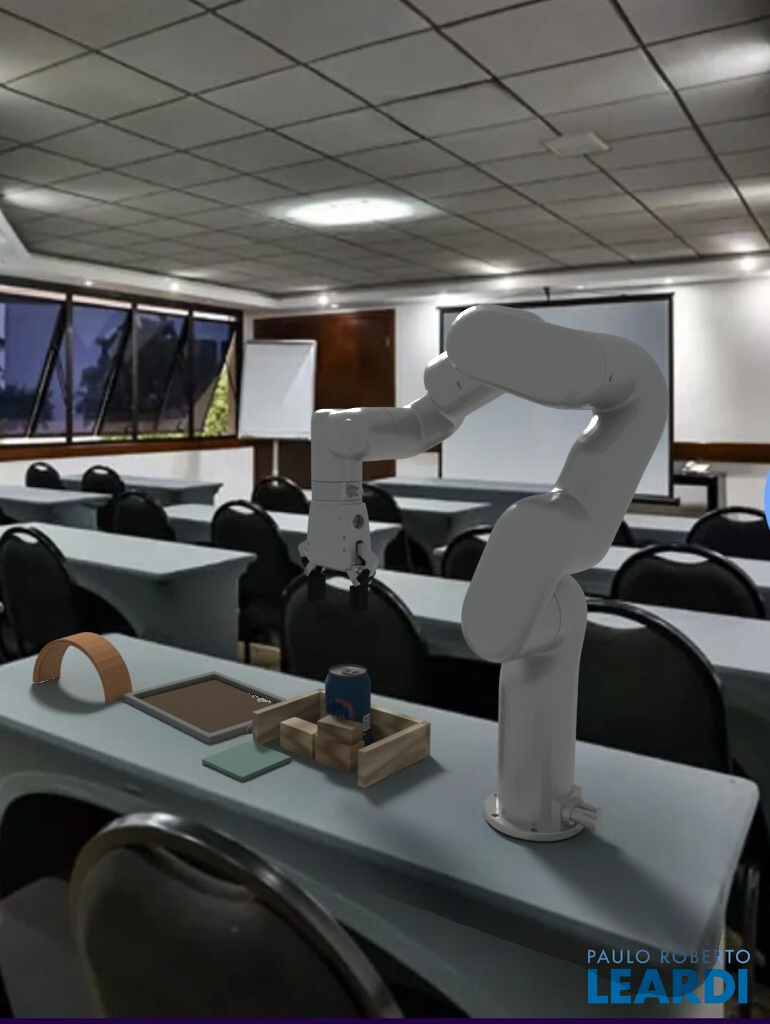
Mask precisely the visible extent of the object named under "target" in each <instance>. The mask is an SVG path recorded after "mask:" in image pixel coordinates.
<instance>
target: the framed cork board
mask: <svg viewBox="0 0 770 1024" xmlns="http://www.w3.org/2000/svg"><path fill="white" fill-rule="evenodd" d="M249 693H250V694H249ZM253 695H254V698H253V697H252V696H253ZM255 695H256V696H258V698H264V699H266V700H268V701H269V700H270V701H271V703H269V702H262V701H261V700H260V701H261V702H258V701H257V699H258V698H257V697H256V696H255ZM286 700H288V699H287V698H284V697H282V696H279V695H276V694H274V693H271V692H269V691H267V690H265V689H262V688H258V687H256V686H254V685H251V684H248V683H247V682H244V681H241V680H238V679H237V678H233V677H231V676H229V675H226V674H223V673H221V672H218V671H216V670H214V671H209V672H206V673H202V674H197V675H193V676H189V677H186V678H182V679H177V680H174V681H173V680H172V681H171V682H166V683H162V684H159V685H155V686H150V687H147V688H142V689H140V690H135V691H132V692H130V693H126V694H123V697H122V701H124V702H125V701H126V702H125V703H127V702H128V703H127V704H129V703H130V705H131V704H132V705H131V706H133V707H135V708H137V709H139V710H141V711H143V712H145V713H147V714H149V715H151V716H152V717H153V716H154V717H155V718H156V719H159V720H161V721H163V722H165V723H167V724H169V725H171V726H173V727H175V728H177V729H179V730H181V731H183V732H185V733H186V734H188V735H190V736H193V737H194V738H196V739H198V740H201V741H202V742H205V743H206V744H209V745H211V744H214V743H218V742H221V741H223V740H226V739H229V738H232V737H236V736H239V735H241V734H248V733H252V734H253V721H252V712H254V711H257V710H260V709H263V708H265V707H268V706H271V705H274V704H277V703H280V702H283V701H286Z"/></svg>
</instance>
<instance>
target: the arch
mask: <svg viewBox="0 0 770 1024" xmlns="http://www.w3.org/2000/svg"><path fill="white" fill-rule="evenodd" d="M70 646H71V647H74V648H75V649H78V650H79V651H80V652H82V654H84V655H85V656H86V657H87V658H88V660H89V661H90V663H92V665H93V667H94V668H95V669H96V672H97V673H98V676H99V679H100V682H101V686H102V689H103V695H104V703H107V702H109V703H111V701H112V702H114V701H116V700H119V699H121V698H122V699H123V694H126V693H130V692H133V684H132V679H131V676H130V675H131V674H130V672H129V669H128V666H127V664H126V661H125V660H124V658H123V656H122V654H120V652H119V651H118V649H117V648H116V647H115V646H114V645H113V644H112V643H111V641H109V640H108V639H106V638H105V637H104V636H102V635H99V634H98V633H94V632H91V631H90V632H88V631H87V632H86V631H84V632H80V633H79V632H78V633H77V634H72V635H69V636H65V637H61V638H58V639H55V640H52V641H50V642H48V643H47V644H46V645H45V646H44V647H43V648H42V649H41V650H40V652H39V653H38V655H37V656H36V660H35V663H34V666H33V671H32V683H33V682H35V683H38V682H42V681H46V680H50V679H53V678H56V679H58V678H61V677H60V676H61V674H62V671H61V668H62V663H63V660H64V656H65V654H66V652H67V650H68V649H69V647H70ZM57 677H58V678H57ZM53 680H54V679H53ZM50 681H51V680H50Z"/></svg>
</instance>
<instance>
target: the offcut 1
mask: <svg viewBox="0 0 770 1024" xmlns="http://www.w3.org/2000/svg"><path fill="white" fill-rule="evenodd" d="M316 734H317V723H315V724H313V723H310V722H308V721H305V720H302V719H299V718H297V717H293V718H290V719H288V720H285V721H282V722H280V737H279V738H280V739H279V740H280V742H279V743H280V745H279V746H280V748H283V749H285V750H286V751H287V750H288V751H291V752H292V753H295V754H298V755H300V756H302V757H305V758H307V759H309V760H315V735H316Z"/></svg>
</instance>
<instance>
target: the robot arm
mask: <svg viewBox="0 0 770 1024" xmlns="http://www.w3.org/2000/svg"><path fill="white" fill-rule="evenodd" d="M423 371H424V372H423V385H424V389H425V391H426V393H425V394H423V395H422V396H420V397H419V398H418V399H415V400H414V401H412V402H411V403H409V404H407V405H405V406H402V407H393V406H389V407H388V406H387V407H386V406H376V407H375V406H373V407H371V406H368V407H366V406H361V407H353V408H347V409H346V408H322V409H318V410H316V411H314V412H313V414H312V416H311V420H310V446H311V447H310V448H311V449H310V451H311V452H310V453H311V455H310V461H311V462H310V463H311V465H310V468H311V470H310V473H311V477H310V478H311V481H310V482H311V484H310V485H311V501H310V505H309V512H308V517H307V518H308V519H307V532H306V533H307V534H306V535H307V536H306V539H305V540H304V541H302V542H301V543H299V544H298V546H297V548H298V549H297V550H298V552H299V555H300V557H301V559H300V560H301V564H302V566H303V567H304V570H303V572H304V574H305V576H307V578H306V579H307V580H306V581H307V584H306V587H307V589H306V590H307V591H306V594H307V598H306V599H307V601H308V602H310V603H313V602H314V603H315V602H318V601H323V600H326V598H327V597H326V595H327V593H326V591H327V589H326V587H327V585H326V584H327V582H326V581H327V577H326V573H323V572H324V571H325V569H330V570H335V571H341V572H346V574H347V575H348V578H349V580H350V582H351V583H352V585H349V591H348V592H349V596H348V597H349V599H348V600H349V602H348V603H349V604H348V605H349V607H348V608H349V610H348V611H349V612H350V613H353V614H355V613H356V614H357V613H359V612H365V611H368V609H369V585H371V584H372V580H373V578H374V577H375V576H376V574H377V569H378V567H379V564H380V561H381V559H380V557H379V556H378V555H377V554H376V553H375V552H374V551H373V550H372V543H371V542H372V541H371V530H370V520H369V519H370V518H369V513H368V509H367V506H366V502H363V495H364V488H363V462H377V461H388V460H405V459H411V458H414V457H417V456H419V455H421V454H423V453H425V452H426V451H428V450H431V449H432V448H434V447H435V446H437V445H439V444H441V443H443V442H444V441H446V440H447V439H448V438H451V436H453V435H454V433H456V432H457V430H459V428H460V427H461V425H462V424H463V423H464V422H465V418H466V417H467V416H468V415H471V414H472V413H474V412H476V411H477V410H478V409H480V408H482V407H484V406H485V405H488V404H489V403H491V402H492V401H494V400H496V399H498V398H499V397H502V396H503V395H504V394H509V395H512V396H514V397H516V398H519V399H523V400H525V401H528V402H531V403H532V404H533V403H534V404H537V405H540V406H543V407H546V408H551V409H556V410H562V411H563V410H567V411H568V410H569V411H570V410H571V411H591V412H592V414H591V418H590V420H589V422H588V424H587V425H586V426H585V428H584V429H583V430H582V432H581V433H580V434H579V436H578V437H577V438H576V440H575V442H574V443H573V445H572V446H571V448H570V449H569V452H568V453H567V457H566V458H565V463H564V464H563V467H562V468H561V471H560V474H559V475H558V478H557V480H556V481H555V483H554V484H553V487H552V488H551V489H550V490H549V491H548V492H546V493H542V494H541V493H540V494H535V495H530V496H526V497H523V498H520V499H518V500H516V501H515V502H514V503H512V504H511V505H510V506H508V507H507V508H506V509H505V510H504V512H503V513H502V514H501V515H500V516H499V518H498V519H497V520H496V522H495V524H494V526H493V528H492V530H491V532H490V534H489V537H488V538H487V542H486V544H485V545H484V546H485V547H484V549H483V551H482V554H481V556H480V559H479V561H478V563H477V566H476V568H475V571H474V572H473V576H472V578H471V581H470V583H469V585H468V587H467V588H468V589H467V591H466V593H465V596H464V599H463V603H462V605H461V606H462V607H461V612H460V613H461V615H460V624H461V631H462V634H463V638H464V641H465V642H466V644H467V645H468V647H469V649H470V650H471V651H472V652H473V653H474V654H476V655H477V656H478V657H479V658H481V659H482V660H485V661H488V662H492V663H497V664H498V663H499V664H500V663H501V666H500V667H501V668H500V673H499V684H498V717H497V718H498V719H497V721H498V723H497V727H498V728H497V762H496V763H497V765H496V766H497V767H496V768H497V769H496V791H495V792H493V793H492V794H490V795H489V796H487V798H486V799H485V801H484V802H483V815H484V818H485V820H486V821H487V823H488V824H490V825H491V826H492V828H494V829H496V830H497V831H499V832H501V833H502V834H504V835H505V834H506V835H507V836H509V837H513V838H517V839H520V840H521V839H522V840H525V841H534V842H556V841H560V840H561V841H562V840H565V839H569V838H572V837H574V836H575V835H577V834H579V833H580V832H581V831H583V830H584V828H585V829H589V830H592V831H595V832H598V831H599V830H600V829H601V827H602V824H603V816H602V815H601V814H602V807H601V806H600V805H597V804H593V803H589V802H586V801H585V800H584V799H583V797H582V792H583V787H582V786H580V785H577V784H575V769H576V768H575V767H576V766H575V765H576V744H577V742H576V741H577V740H576V739H577V738H576V736H577V712H578V711H577V709H578V694H579V693H578V691H579V689H578V687H579V675H580V674H579V671H580V662H581V661H580V660H581V655H582V649H583V643H584V641H585V635H586V629H587V621H588V604H587V599H586V595H585V593H584V590H583V588H582V587H581V585H580V584H579V583H578V581H577V580H576V579H575V578H574V577H573V576H572V575H574V574H577V573H581V572H584V571H586V570H589V569H591V568H593V567H595V566H597V565H598V564H600V563H601V562H602V560H604V558H605V557H606V555H607V554H608V552H609V550H610V548H611V546H612V543H613V542H614V541H615V537H616V535H617V533H618V531H619V529H620V527H621V524H622V522H623V519H624V517H625V515H626V514H627V512H628V509H629V507H630V505H631V503H632V501H633V499H634V497H635V494H636V492H637V489H638V487H639V485H640V482H641V480H642V477H643V476H644V474H645V472H646V469H647V468H648V465H649V463H650V462H651V460H652V457H653V455H654V453H655V452H656V450H657V447H658V445H659V442H660V441H661V438H662V436H663V433H664V430H665V427H666V423H667V420H668V419H667V418H668V414H669V405H670V401H669V400H670V398H669V391H668V390H669V389H668V385H667V381H666V378H665V376H664V373H663V371H662V369H661V367H660V366H659V364H658V363H657V361H656V360H655V358H654V357H653V356H652V355H651V354H650V353H649V352H648V351H647V350H646V349H645V348H643V347H642V346H641V345H640V344H638V343H635V341H632V340H631V339H628V338H625V337H622V336H618V335H617V334H615V335H614V334H611V333H605V332H604V333H603V332H598V331H597V332H594V331H590V330H584V329H575V328H571V327H566V326H562V325H559V324H558V325H557V324H554V323H551V322H546V321H545V320H544V319H542V317H541V316H539V315H537V314H535V313H534V312H531V311H530V310H526V309H522V308H516V307H510V306H505V305H498V304H493V303H480V304H475V305H473V306H471V307H468V308H467V309H465V310H464V311H462V312H460V314H459V315H457V317H455V318H454V320H453V322H452V323H451V325H450V327H449V329H448V332H447V335H446V339H445V351H444V352H442V353H440V354H439V355H437V356H436V357H434V358H432V359H431V360H430V361H429V362H428V363H427V365H426V367H425V368H424V370H423ZM357 572H358V573H357Z"/></svg>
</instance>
